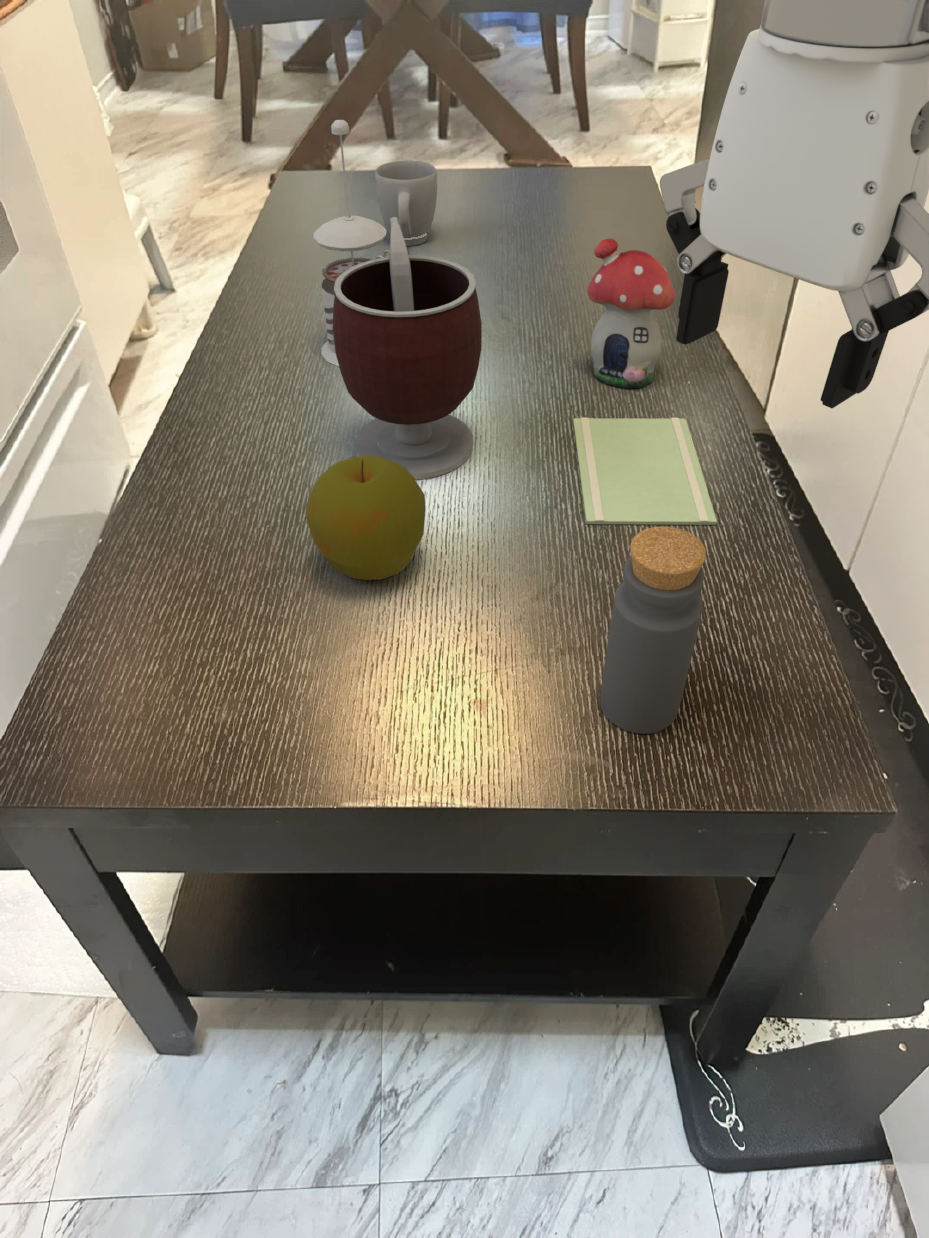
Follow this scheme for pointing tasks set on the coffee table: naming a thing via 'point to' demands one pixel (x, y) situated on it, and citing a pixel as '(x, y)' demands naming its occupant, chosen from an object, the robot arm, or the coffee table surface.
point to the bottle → (653, 630)
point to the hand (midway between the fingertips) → (764, 365)
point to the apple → (366, 517)
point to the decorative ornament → (627, 315)
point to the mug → (407, 196)
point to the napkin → (640, 472)
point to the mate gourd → (409, 355)
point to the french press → (343, 249)
